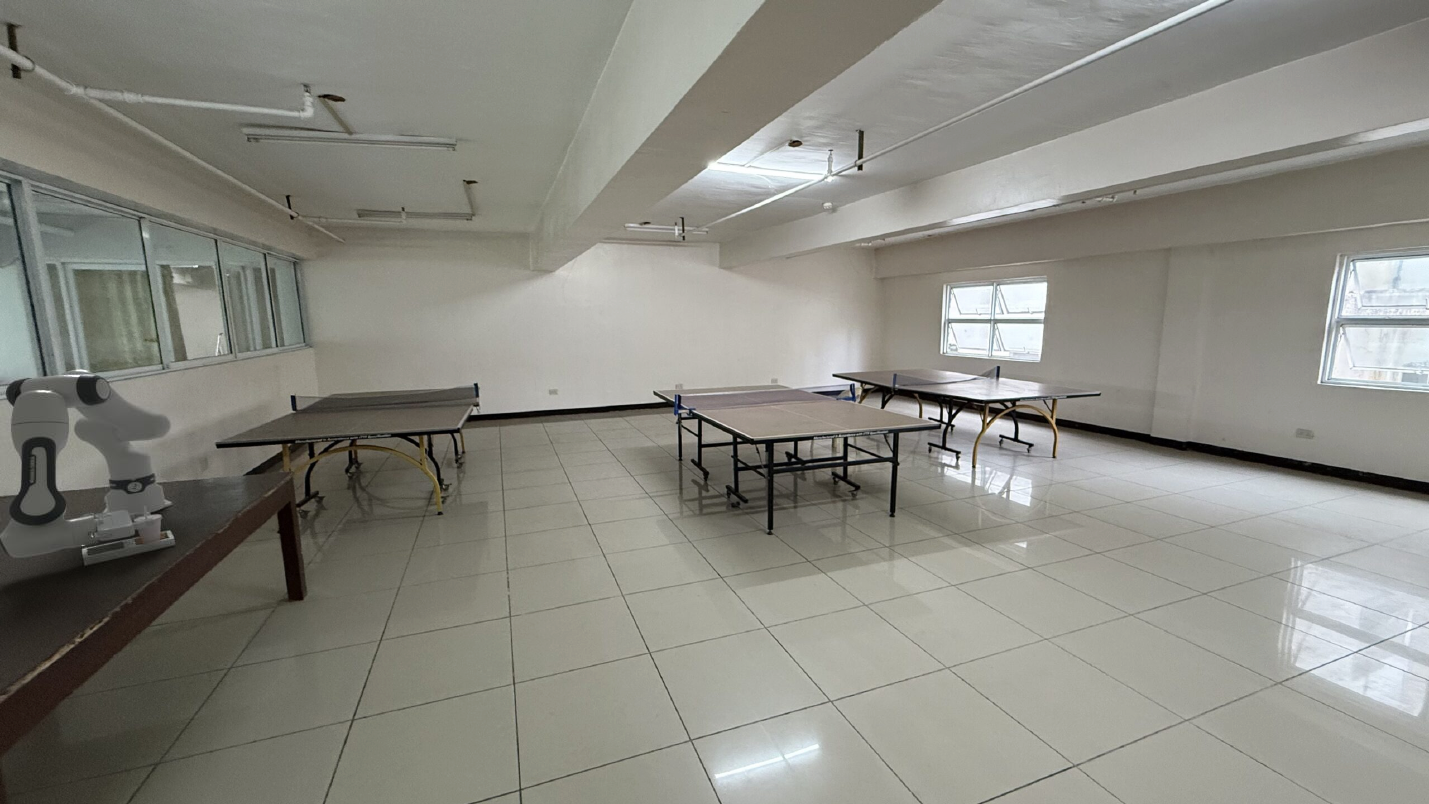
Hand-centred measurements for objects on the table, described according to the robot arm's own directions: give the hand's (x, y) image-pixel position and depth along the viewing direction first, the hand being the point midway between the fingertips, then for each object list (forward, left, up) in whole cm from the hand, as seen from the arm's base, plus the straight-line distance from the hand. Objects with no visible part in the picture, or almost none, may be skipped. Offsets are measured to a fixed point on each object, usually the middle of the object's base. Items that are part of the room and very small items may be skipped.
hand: (152, 517), depth 174 cm
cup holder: (0, -6, -9) cm, 11 cm away
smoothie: (0, -1, -9) cm, 9 cm away
